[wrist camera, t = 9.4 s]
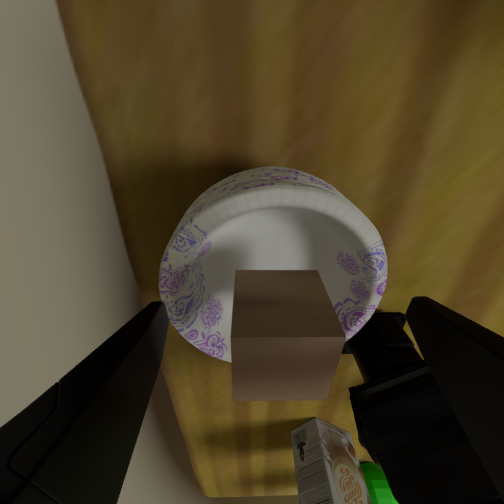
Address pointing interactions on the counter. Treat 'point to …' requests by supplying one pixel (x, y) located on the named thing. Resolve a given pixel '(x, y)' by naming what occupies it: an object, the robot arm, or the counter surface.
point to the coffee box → (327, 465)
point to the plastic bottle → (377, 484)
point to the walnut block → (283, 336)
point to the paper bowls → (268, 251)
